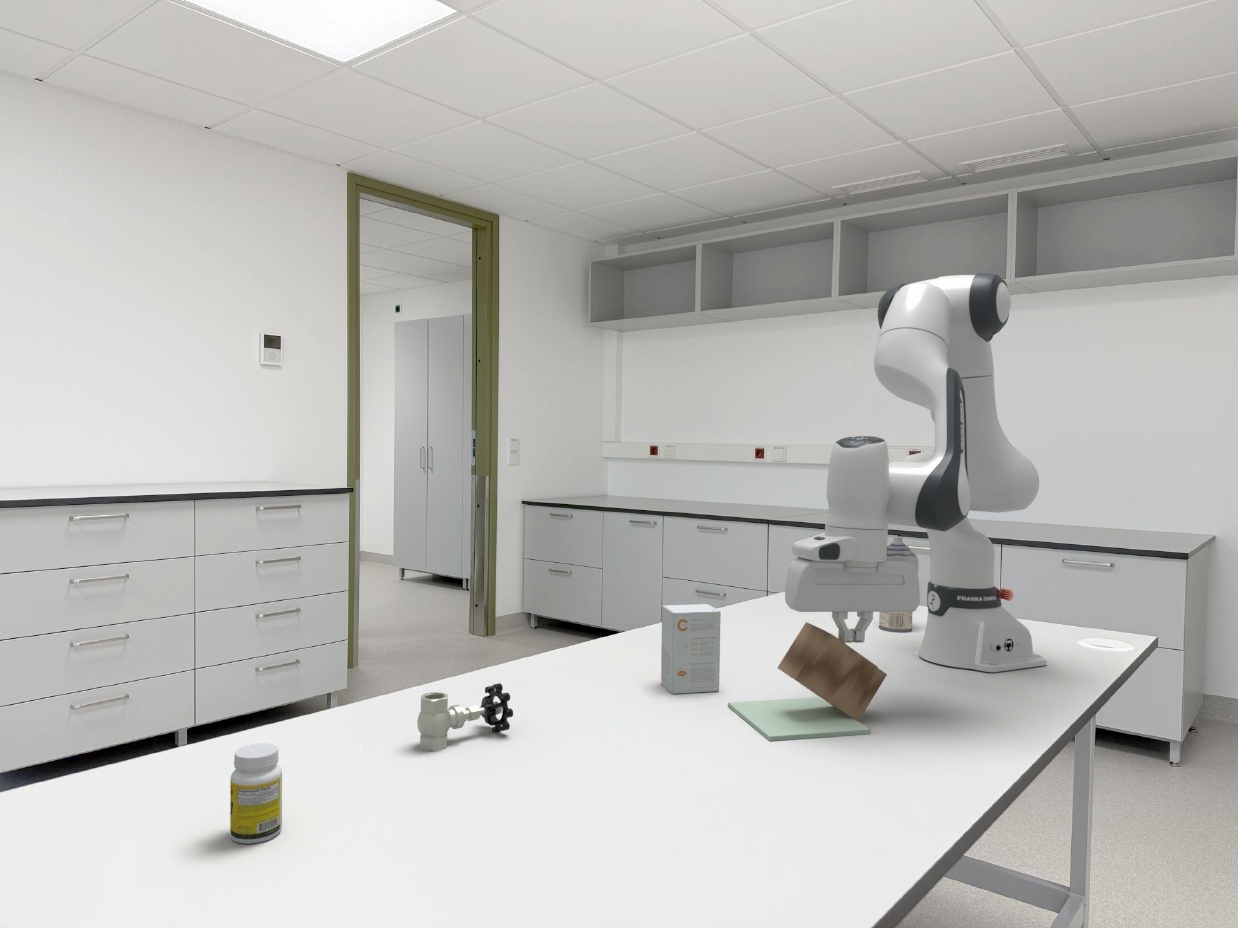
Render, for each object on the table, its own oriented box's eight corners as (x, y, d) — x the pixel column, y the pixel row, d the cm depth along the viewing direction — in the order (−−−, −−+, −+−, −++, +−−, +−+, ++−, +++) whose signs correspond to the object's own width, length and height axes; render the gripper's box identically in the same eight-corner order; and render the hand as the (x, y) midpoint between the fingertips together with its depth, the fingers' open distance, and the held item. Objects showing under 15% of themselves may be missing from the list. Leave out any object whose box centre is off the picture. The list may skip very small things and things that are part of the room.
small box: (706, 680, 141) (708, 603, 141) (719, 692, 135) (721, 610, 135) (659, 683, 139) (661, 604, 139) (671, 694, 133) (673, 612, 133)
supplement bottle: (240, 823, 86) (240, 741, 86) (288, 822, 87) (288, 740, 86) (222, 845, 81) (222, 759, 81) (272, 844, 82) (273, 758, 82)
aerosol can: (918, 631, 182) (921, 539, 182) (889, 632, 181) (892, 539, 180) (900, 625, 189) (903, 535, 188) (873, 625, 187) (875, 535, 187)
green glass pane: (818, 700, 131) (818, 696, 131) (870, 733, 117) (870, 729, 117) (727, 706, 128) (728, 702, 128) (769, 740, 113) (769, 736, 113)
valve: (430, 758, 105) (513, 738, 113) (431, 705, 105) (514, 688, 113) (407, 742, 110) (487, 724, 118) (407, 692, 110) (488, 677, 118)
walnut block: (866, 662, 128) (806, 620, 126) (887, 673, 122) (826, 629, 120) (837, 708, 127) (777, 667, 125) (858, 721, 121) (795, 679, 119)
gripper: (906, 546, 129) (902, 636, 129) (782, 543, 124) (778, 637, 124) (931, 550, 123) (926, 645, 123) (801, 548, 118) (797, 647, 118)
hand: (851, 641), depth 124 cm, fingers closed
